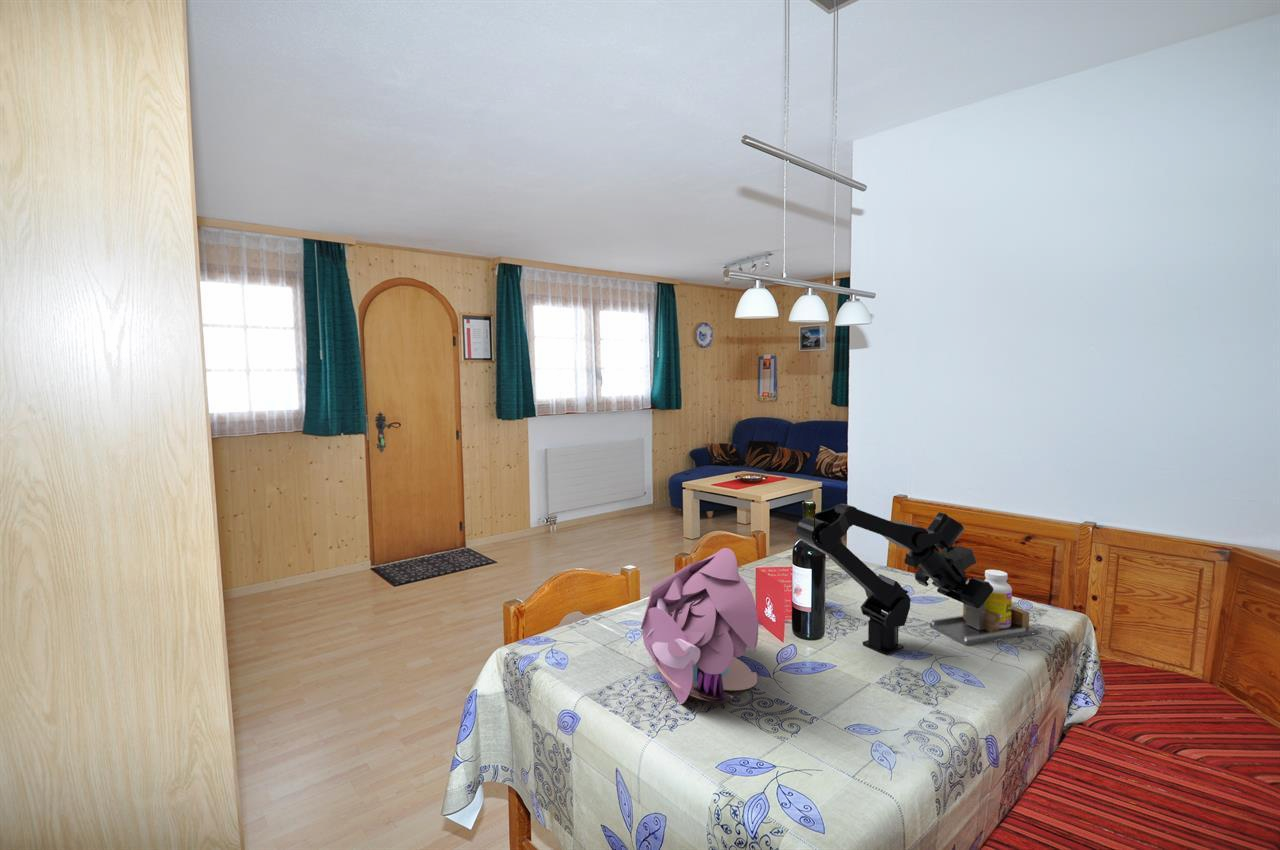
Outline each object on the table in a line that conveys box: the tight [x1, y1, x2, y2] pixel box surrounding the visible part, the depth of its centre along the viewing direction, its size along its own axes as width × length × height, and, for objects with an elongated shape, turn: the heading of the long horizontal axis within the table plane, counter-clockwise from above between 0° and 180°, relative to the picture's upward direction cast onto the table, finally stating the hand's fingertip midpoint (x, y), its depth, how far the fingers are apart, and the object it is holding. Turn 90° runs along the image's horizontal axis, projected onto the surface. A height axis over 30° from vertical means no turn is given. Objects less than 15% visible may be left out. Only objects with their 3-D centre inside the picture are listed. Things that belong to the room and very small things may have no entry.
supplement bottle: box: [983, 569, 1013, 629], centre depth 143 cm, size 7×7×13 cm
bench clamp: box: [929, 605, 1038, 646], centre depth 142 cm, size 21×11×5 cm, turn 106°
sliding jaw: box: [962, 602, 1000, 632], centre depth 141 cm, size 4×9×11 cm, turn 16°
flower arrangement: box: [640, 547, 759, 705], centre depth 121 cm, size 35×24×28 cm
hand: (971, 604), depth 141 cm, fingers closed
